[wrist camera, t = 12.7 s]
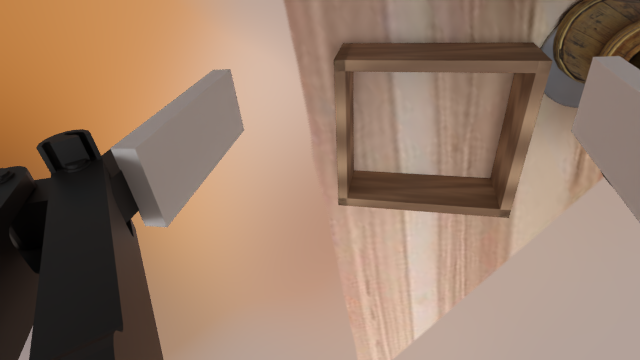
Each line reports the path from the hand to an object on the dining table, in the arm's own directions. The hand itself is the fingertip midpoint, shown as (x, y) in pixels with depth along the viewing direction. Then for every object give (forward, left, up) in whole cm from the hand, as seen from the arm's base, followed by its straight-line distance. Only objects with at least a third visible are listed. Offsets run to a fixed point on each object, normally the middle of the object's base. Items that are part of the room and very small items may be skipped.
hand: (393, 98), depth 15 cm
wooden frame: (+16, +4, -33) cm, 37 cm away
